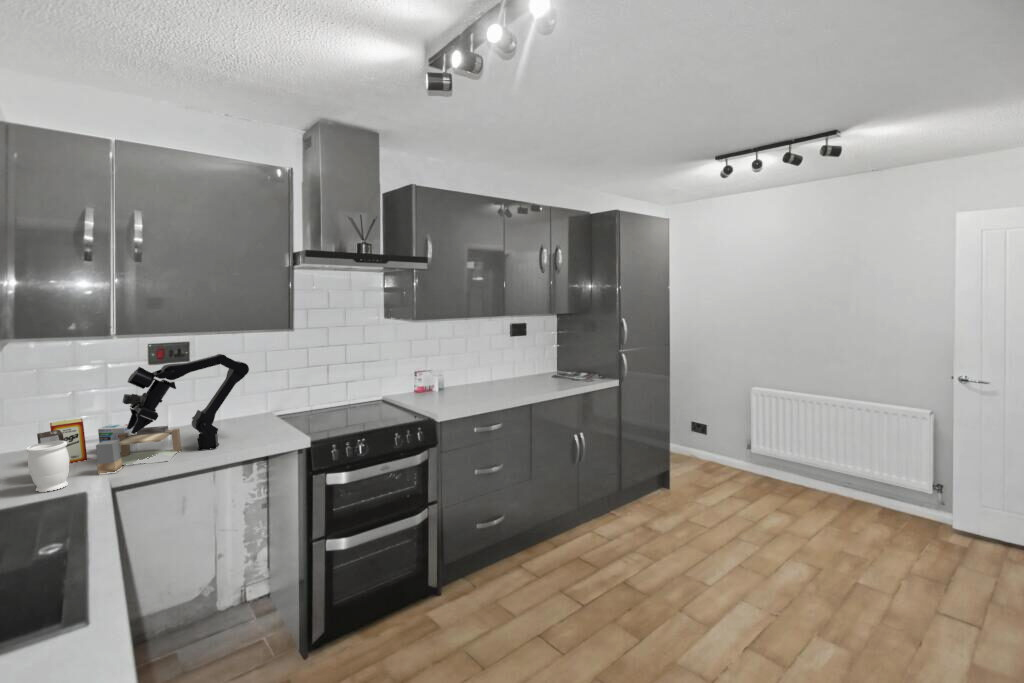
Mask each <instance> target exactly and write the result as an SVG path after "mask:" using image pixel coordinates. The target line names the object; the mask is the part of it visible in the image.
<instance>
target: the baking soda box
mask: <svg viewBox="0 0 1024 683" xmlns="http://www.w3.org/2000/svg"><path fill="white" fill-rule="evenodd" d="M49 426H50V431H54V430H60V431H61V432H62V433H63V438H64V441H67V445H66V449H67V451H68V454H69V463H71V464H74V463H73V462H76V463H79V462H78V461H81V462H85V461H84V460H86V461H88V454H87V446H86V437H85V435H86V434H85V429H84V428H85V427H84V420H83V418H81V417H80V418H76V419H75V418H74V419H67V420H66V419H64V420H59V421H54V422H50V423H49Z"/></svg>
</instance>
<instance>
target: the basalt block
mask: <svg viewBox="0 0 1024 683" xmlns="http://www.w3.org/2000/svg"><path fill="white" fill-rule="evenodd" d="M95 450H96V457H97V458H96V459H97V464H104V463H114V462H116V461H117V460H119V459H120V458H122V456H121V454H120V448H119V440H111V441H102V442H100V443H99V442H98V443H97V444H96V445H95Z"/></svg>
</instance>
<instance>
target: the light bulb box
mask: <svg viewBox="0 0 1024 683" xmlns="http://www.w3.org/2000/svg"><path fill="white" fill-rule="evenodd" d="M127 426H128V423H126V424H125V423H124V424H123V423H121V424H117V423H116V424H107V425H104V426H102V427H100V428H99V427H98V429H97V433H98V441H99V442H98V444H99V443H100V442H102V441H111V440H119V442H120V434H122V433H128V435H130V436H131V435H134V434H133V433H131V432H132V429H133V427H132V428H131V429H127ZM136 433H137V432H136ZM136 433H135V434H136ZM119 448H120V453H121V445H119ZM136 448H137V449H138V444H130V451H131V452H133V451H135V450H137V449H136ZM134 449H135V450H134ZM132 450H133V451H132Z"/></svg>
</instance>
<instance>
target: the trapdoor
mask: <svg viewBox="0 0 1024 683" xmlns="http://www.w3.org/2000/svg"><path fill="white" fill-rule="evenodd" d="M171 430H172V429H169V426H168V425H163V426H162V425H161V426H160V425H159V426H149V427H146V426H145V427H144V428H142V429H141V430H139V431H138V432H136V434H134V435H131V436H129V437H127V438H126V439H124V440H122V441H121V442H119V445H127V444H137V445H138V444H146V443H160V442H162V441H164V440H165V439H166V438H168V436H169V437H170V432H171Z"/></svg>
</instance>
